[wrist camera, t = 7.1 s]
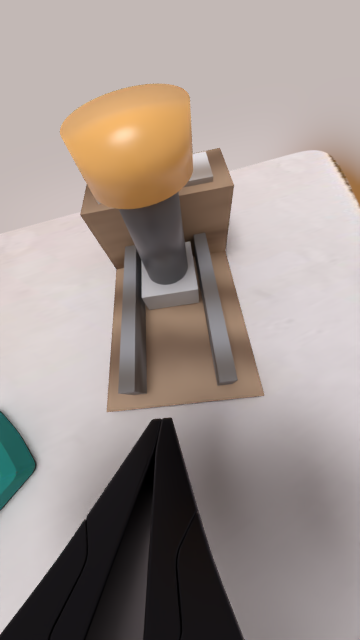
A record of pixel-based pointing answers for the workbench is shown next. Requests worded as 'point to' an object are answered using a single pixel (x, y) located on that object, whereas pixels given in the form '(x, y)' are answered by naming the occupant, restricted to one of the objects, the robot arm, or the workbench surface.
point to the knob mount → (178, 321)
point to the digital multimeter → (12, 461)
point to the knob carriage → (142, 178)
